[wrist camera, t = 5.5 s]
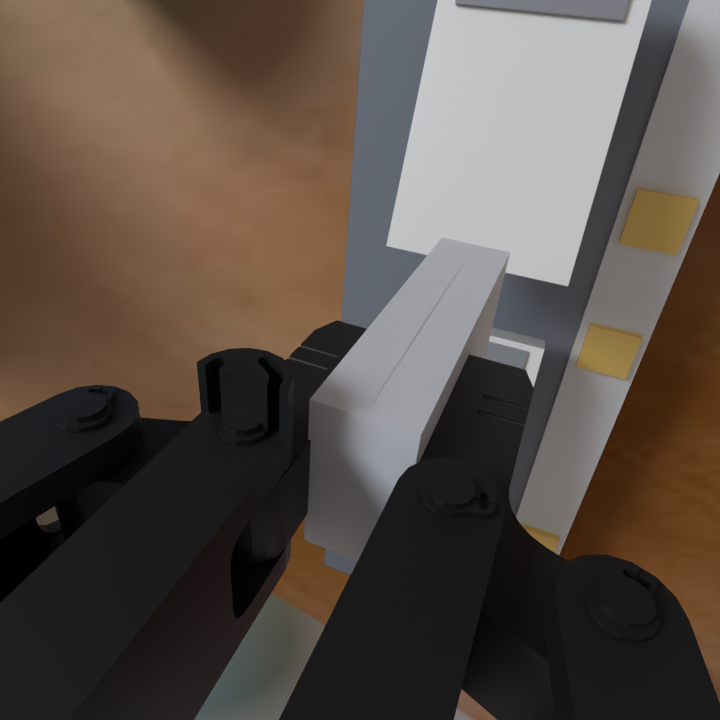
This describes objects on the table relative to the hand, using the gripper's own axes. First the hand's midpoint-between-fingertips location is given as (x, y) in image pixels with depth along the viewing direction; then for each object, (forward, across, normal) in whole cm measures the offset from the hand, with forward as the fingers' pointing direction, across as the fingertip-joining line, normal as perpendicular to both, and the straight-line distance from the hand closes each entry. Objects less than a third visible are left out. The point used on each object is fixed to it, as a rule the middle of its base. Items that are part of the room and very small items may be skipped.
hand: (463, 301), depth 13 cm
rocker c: (+5, 0, +3) cm, 6 cm away
